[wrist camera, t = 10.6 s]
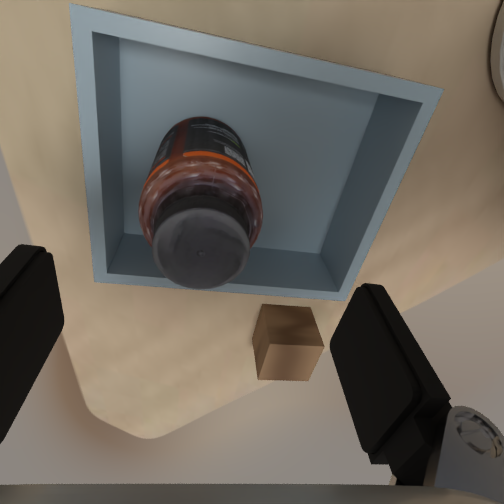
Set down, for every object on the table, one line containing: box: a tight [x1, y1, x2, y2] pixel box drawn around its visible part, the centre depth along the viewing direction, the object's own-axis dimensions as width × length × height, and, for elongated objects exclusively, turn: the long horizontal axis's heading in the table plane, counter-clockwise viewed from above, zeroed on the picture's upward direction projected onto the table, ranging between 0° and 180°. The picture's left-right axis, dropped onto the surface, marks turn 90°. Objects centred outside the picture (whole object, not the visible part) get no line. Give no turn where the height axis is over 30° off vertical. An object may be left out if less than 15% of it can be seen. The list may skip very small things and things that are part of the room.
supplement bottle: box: [138, 117, 263, 289], centre depth 18 cm, size 6×6×11 cm
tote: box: [69, 3, 444, 301], centre depth 21 cm, size 18×15×6 cm
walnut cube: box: [252, 304, 325, 381], centre depth 32 cm, size 5×5×5 cm
